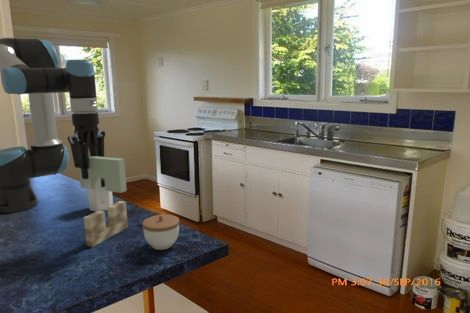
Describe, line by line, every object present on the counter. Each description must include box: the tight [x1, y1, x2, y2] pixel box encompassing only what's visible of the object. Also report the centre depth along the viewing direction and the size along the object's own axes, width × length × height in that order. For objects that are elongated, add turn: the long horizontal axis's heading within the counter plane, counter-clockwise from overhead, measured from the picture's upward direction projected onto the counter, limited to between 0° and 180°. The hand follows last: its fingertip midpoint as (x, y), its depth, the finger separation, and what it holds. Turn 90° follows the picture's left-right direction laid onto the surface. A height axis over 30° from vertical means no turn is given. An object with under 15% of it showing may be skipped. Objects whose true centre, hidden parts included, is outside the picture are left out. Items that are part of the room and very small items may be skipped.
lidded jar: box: [142, 214, 180, 251], centre depth 109 cm, size 11×11×9 cm
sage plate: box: [78, 155, 128, 194], centre depth 112 cm, size 16×2×10 cm, turn 67°
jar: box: [87, 178, 114, 212], centre depth 141 cm, size 9×8×12 cm
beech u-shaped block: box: [83, 200, 129, 248], centre depth 116 cm, size 16×2×9 cm, turn 157°
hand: (92, 186), depth 115 cm, fingers closed on sage plate, 2 cm apart
